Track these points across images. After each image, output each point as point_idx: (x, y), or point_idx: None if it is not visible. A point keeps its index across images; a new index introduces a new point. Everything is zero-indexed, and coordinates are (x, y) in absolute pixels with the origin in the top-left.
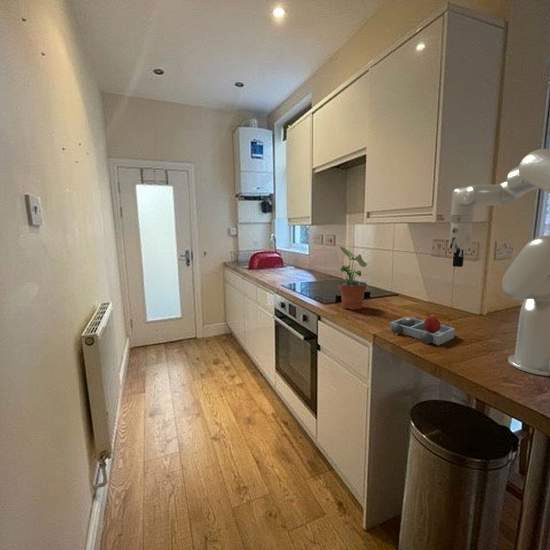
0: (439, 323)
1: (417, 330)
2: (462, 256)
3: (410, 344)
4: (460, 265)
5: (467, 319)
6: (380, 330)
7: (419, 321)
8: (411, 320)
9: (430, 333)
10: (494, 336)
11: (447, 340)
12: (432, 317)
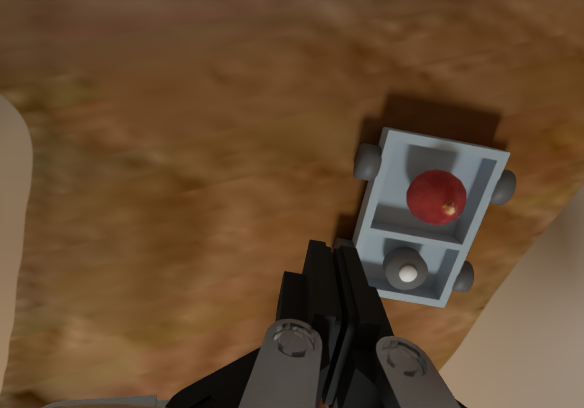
0: (446, 176)
1: (480, 222)
2: (300, 331)
3: (518, 212)
4: (356, 258)
5: (137, 135)
6: (441, 309)
7: (363, 246)
8: (407, 264)
9: (493, 181)
10: (280, 11)
11: (429, 135)
12: (457, 206)
